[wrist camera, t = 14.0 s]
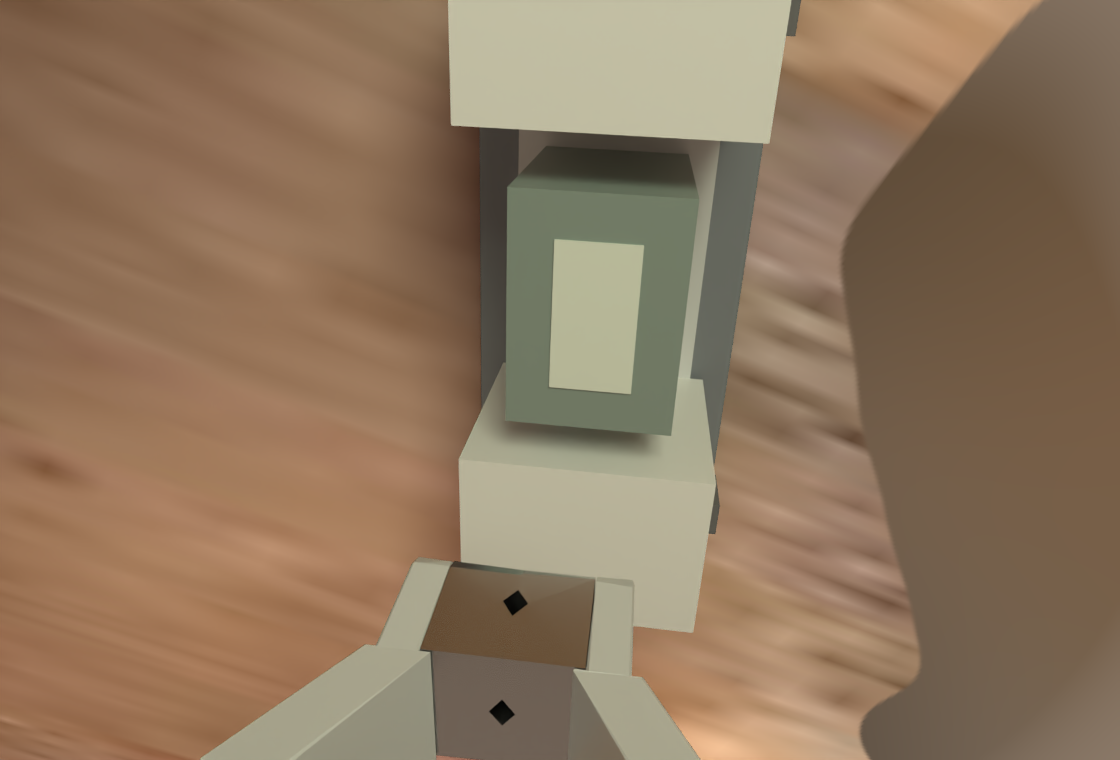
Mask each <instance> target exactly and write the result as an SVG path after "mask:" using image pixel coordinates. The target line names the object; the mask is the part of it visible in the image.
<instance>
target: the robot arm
mask: <svg viewBox="0 0 1120 760" xmlns="http://www.w3.org/2000/svg"><path fill="white" fill-rule="evenodd" d="M595 580H596V586H595ZM634 592H635V585H634V582H633V580H627V579H615V578H604V577H597V579H596V577H587V576H577V575H567V574H557V573H547V572H537V571H527V570H518V569H511V568H503V567H496V566H488V565H480V564H473V563H465V562H458V561H454V562H451V561H444V560H437V559H429V558H422V557H418V558H417V559H416V560H415V561H414V562H413V563H412V564H411V567H410V569H409V571H408V574H407V576H406V578H405V580H404V583H403V585H402V587H401V589H400V592H399V594H398V596H397V599H396V601H395V603H394V605H393V608H392V610H391V612H390V614H389V617H388V619H387V621H386V624H385V626H384V628H383V630H382V633H381V635H380V637H379V639H378V642H377V644H376V646H375V645H363V646H362V647H360V648H359V649H358V650H356V651H355V652H353V653H352V654H350V655H349V656H347V657H346V658H345V659H343V660H342V661H340V662H339V663H337V664H336V665H334V666H333V667H332V668H330V669H329V670H327V671H326V672H324V673H323V674H321V675H320V676H319V677H317V678H316V679H314V680H313V681H311V682H310V683H308V684H307V685H306V686H304V687H303V688H301V689H300V690H298V691H297V692H295V693H294V694H293V695H291V696H290V697H288V698H287V699H285V700H284V701H282V702H281V703H280V704H278V705H277V706H275V707H274V708H272V709H271V710H269V711H268V712H267V713H265V714H264V715H262V716H261V717H259V718H258V719H256V720H255V721H253V722H252V723H251V724H249V725H248V726H246V727H245V728H243V729H242V730H240V731H239V732H238V733H236V734H235V735H233V736H232V737H230V738H229V739H227V740H226V741H225V742H223V743H222V744H220V745H219V746H217V747H216V748H214V749H213V750H212V751H210V752H209V753H207V754H206V755H204V756H203V757H201V759H200V760H436V755H440V756H450V757H460V758H470V759H480V760H700V758H699V757H698V755H697V754H696V752H695V751H694V750H693V748H692V747H691V745H690V744H689V742H688V741H687V740H686V738H685V737H684V735H683V734H682V732H681V731H680V730H679V728H678V727H677V725H676V724H675V722H674V721H673V720H672V718H671V717H670V715H669V714H668V712H667V711H666V710H665V708H664V707H663V705H662V704H661V702H660V701H659V700H658V698H657V697H656V695H655V694H654V692H653V691H652V690H651V688H650V687H649V685H648V684H647V682H646V681H645V680H644V678H643V677H636V676H632V649H633V621H634ZM594 595H595V596H594Z"/></svg>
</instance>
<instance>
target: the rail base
mask: <svg viewBox="0 0 1120 760" xmlns="http://www.w3.org/2000/svg"><path fill="white" fill-rule="evenodd" d="M800 3H801V0H448V19H449V62H450V105H451V126H469V127H480V262H481V400H482V410H481V412H480V414H479V416H478V419H477V421H476V423H475V425H474V427H473V429H472V432H471V434H470V436H469V438H468V440H467V442H466V445H465V447H464V449H463V451H462V453H461V455H460V458H459V494H460V537H461V562H465V563H473V564H480V565H488V566H496V567H503V568H511V569H518V570H527V571H537V572H547V573H557V574H567V575H577V576H587V577H596V579H597V577H604V578H615V579H627V580H633V582H634V585H635V592H634V621H633V626H638V627H647V628H655V629H664V630H673V631H681V632H690V633H693V630H694V623H695V617H696V610H697V604H698V598H699V591H700V585H701V578H702V572H703V565H704V559H705V553H706V546H707V540H708V533H709V534H715V532H716V526H717V520H718V514H719V507H720V505H719V497H718V489H717V481H716V475H715V472H714V463H715V457H716V450H717V444H718V437H719V430H720V424H721V417H722V411H723V404H724V398H725V391H726V385H727V378H728V371H729V365H730V358H731V352H732V345H733V339H734V332H735V325H736V319H737V312H738V306H739V299H740V293H741V286H742V280H743V273H744V266H745V260H746V253H747V247H748V240H749V234H750V227H751V220H752V214H753V207H754V201H755V194H756V188H757V181H758V175H759V168H760V161H761V155H762V148H763V143H766V144H769V142H770V135H771V129H772V122H773V116H774V110H775V103H776V97H777V90H778V84H779V77H780V71H781V65H782V58H783V52H784V45H785V39H786V36H795V34H796V28H797V22H798V16H799V9H800ZM546 146H555V147H572V148H589V149H606V150H623V151H640V152H658V153H675V154H689V158H690V162H691V166H692V170H693V174H694V179H695V183H696V187H697V191H698V195H699V207H698V216H697V224H696V232H695V241H694V249H693V258H692V266H691V274H690V283H689V291H688V299H687V308H686V316H685V324H684V333H683V341H682V349H681V358H680V366H679V374H678V383H677V391H676V399H675V408H674V416H673V424H672V433H671V436H665V435H654V434H643V433H633V432H622V431H611V430H600V429H589V428H579V427H568V426H557V425H546V424H536V423H525V422H514V421H505V410H506V286H507V187H508V186H509V185H510V184H511V183H512V182H513V180H514V179H515V178H516V177H517V176H518V175H519V174H520V173H521V172H522V171H523V170H524V169H525V168H526V167H527V166H528V165H529V163H530V162H531V161H532V160H533V159H534V158H535V157H536V156H537V155H538V154H539V153H540V152H541V151H542V150H543V149H544V148H545V147H546ZM595 586H596V580H595ZM594 596H595V595H594Z"/></svg>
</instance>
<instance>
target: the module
mask: <svg viewBox="0 0 1120 760" xmlns="http://www.w3.org/2000/svg"><path fill="white" fill-rule="evenodd" d="M698 207H699V195H698V191H697V187H696V183H695V179H694V174H693V170H692V166H691V162H690V158H689V154H675V153H658V152H640V151H623V150H606V149H589V148H572V147H555V146H546V147H545V148H544V149H543V150H542V151H541V152H540V153H539V154H538V155H537V156H536V157H535V158H534V159H533V160H532V161H531V162H530V163H529V165H528V166H527V167H526V168H525V169H524V170H523V171H522V172H521V173H520V174H519V175H518V176H517V177H516V178H515V179H514V180H513V182H512V183H511V184H510V185H509V186H508V187H507V286H506V410H505V421H514V422H525V423H536V424H546V425H557V426H568V427H579V428H589V429H600V430H611V431H622V432H633V433H643V434H654V435H665V436H671V433H672V424H673V416H674V408H675V399H676V391H677V383H678V374H679V366H680V358H681V349H682V341H683V333H684V324H685V316H686V308H687V299H688V291H689V283H690V274H691V266H692V258H693V249H694V241H695V232H696V224H697V216H698Z"/></svg>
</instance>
